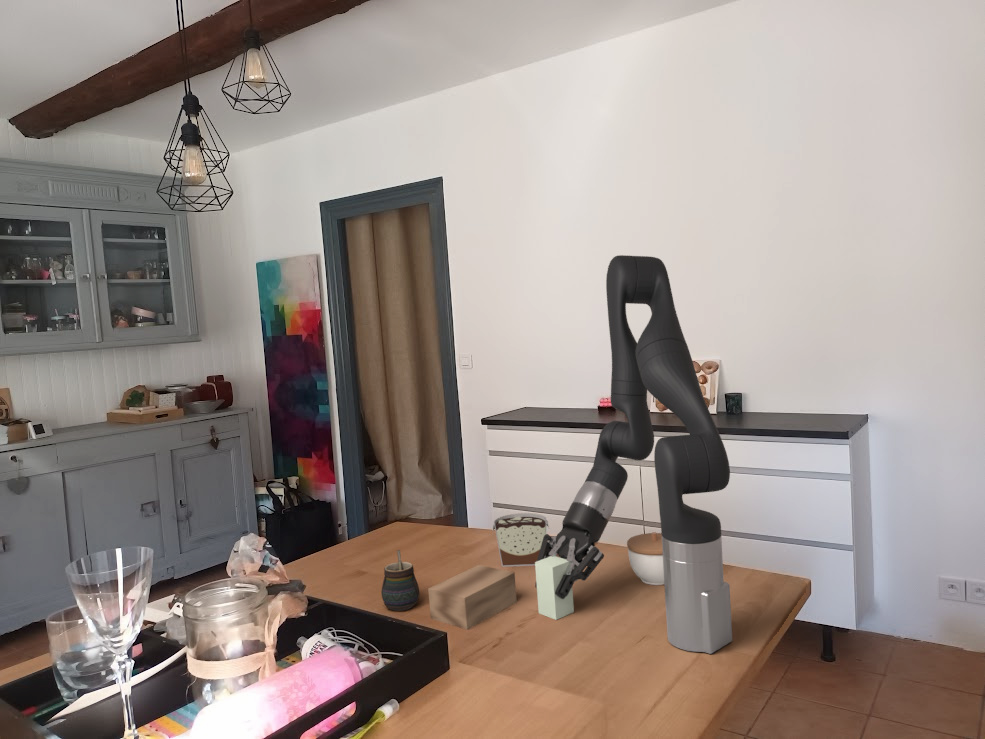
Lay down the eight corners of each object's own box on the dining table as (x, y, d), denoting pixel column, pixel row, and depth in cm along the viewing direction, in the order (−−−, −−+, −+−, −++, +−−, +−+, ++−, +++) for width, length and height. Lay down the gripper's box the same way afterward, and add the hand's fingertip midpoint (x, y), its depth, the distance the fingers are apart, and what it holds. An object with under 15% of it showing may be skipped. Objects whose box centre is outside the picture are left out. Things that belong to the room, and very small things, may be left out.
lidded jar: (671, 593, 138) (668, 544, 138) (619, 584, 145) (616, 537, 144) (693, 574, 147) (690, 528, 146) (643, 566, 153) (641, 522, 153)
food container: (552, 555, 165) (549, 511, 164) (552, 564, 159) (548, 519, 158) (497, 557, 166) (494, 513, 165) (495, 566, 160) (491, 521, 159)
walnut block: (516, 603, 140) (514, 572, 139) (467, 631, 129) (464, 598, 129) (481, 594, 146) (478, 564, 145) (430, 620, 135) (428, 588, 135)
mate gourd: (385, 617, 137) (380, 565, 137) (380, 602, 145) (375, 553, 144) (423, 610, 139) (419, 558, 139) (416, 596, 147) (412, 547, 146)
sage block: (573, 611, 133) (570, 560, 133) (556, 620, 131) (552, 567, 130) (556, 605, 137) (552, 555, 136) (538, 613, 134) (534, 562, 133)
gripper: (552, 495, 143) (510, 574, 136) (609, 506, 132) (566, 593, 125) (573, 515, 147) (533, 593, 140) (630, 528, 136) (589, 613, 129)
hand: (549, 592), depth 132 cm, fingers closed on sage block, 4 cm apart
